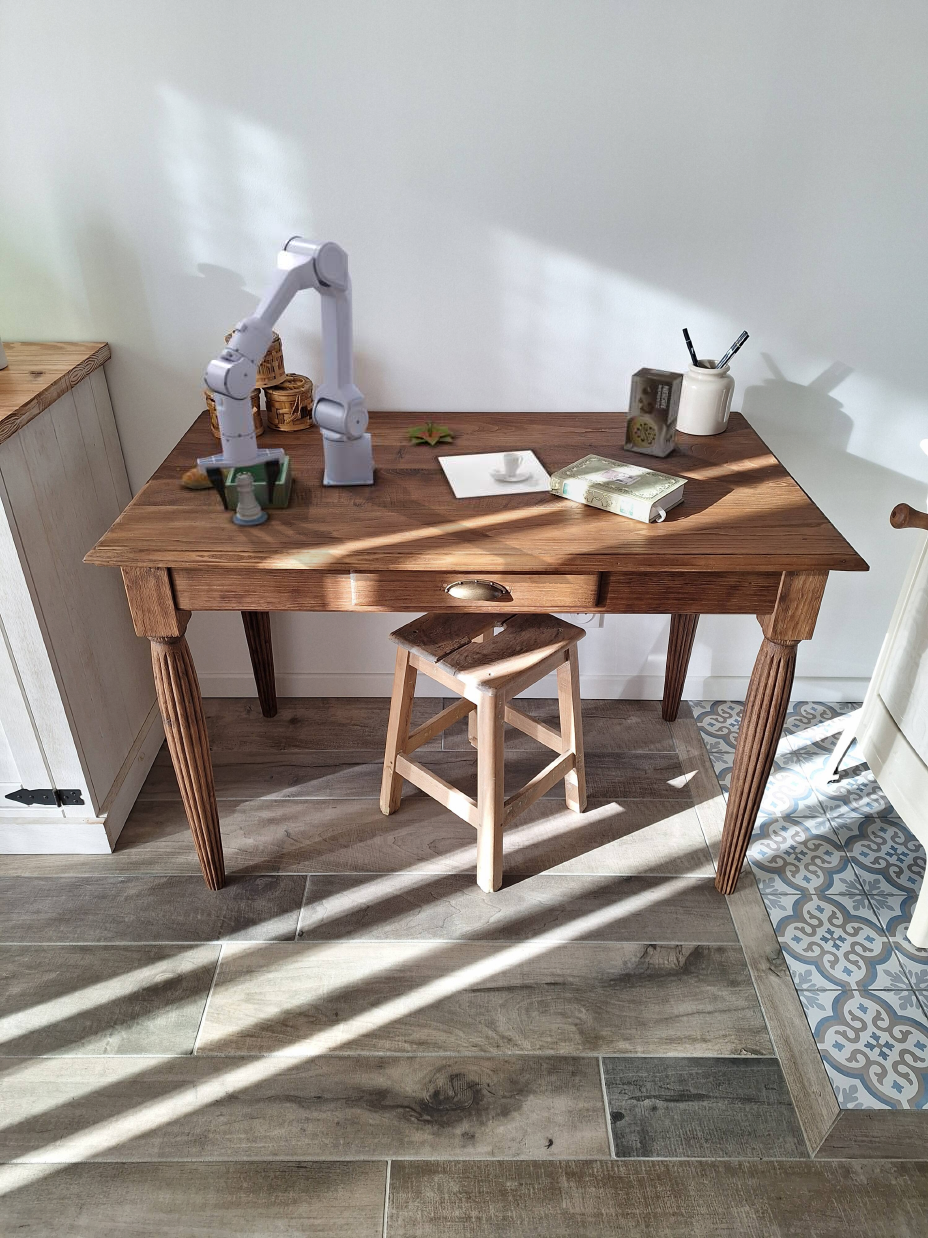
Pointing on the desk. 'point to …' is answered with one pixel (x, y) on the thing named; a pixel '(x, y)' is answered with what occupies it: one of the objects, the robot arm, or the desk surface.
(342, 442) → the robot arm
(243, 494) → the rook chess piece
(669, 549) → the desk surface
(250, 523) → the tile coaster
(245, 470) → the open box
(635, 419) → the coffee box
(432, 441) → the lily flower
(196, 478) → the pastry
